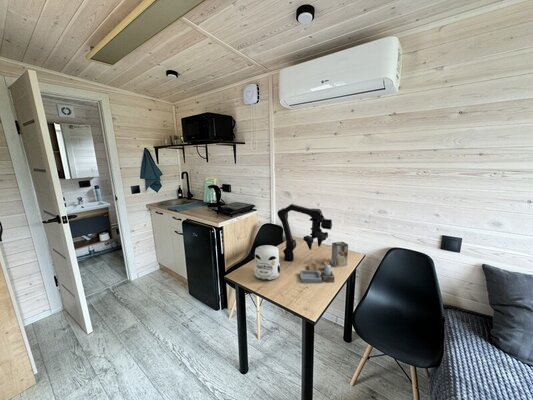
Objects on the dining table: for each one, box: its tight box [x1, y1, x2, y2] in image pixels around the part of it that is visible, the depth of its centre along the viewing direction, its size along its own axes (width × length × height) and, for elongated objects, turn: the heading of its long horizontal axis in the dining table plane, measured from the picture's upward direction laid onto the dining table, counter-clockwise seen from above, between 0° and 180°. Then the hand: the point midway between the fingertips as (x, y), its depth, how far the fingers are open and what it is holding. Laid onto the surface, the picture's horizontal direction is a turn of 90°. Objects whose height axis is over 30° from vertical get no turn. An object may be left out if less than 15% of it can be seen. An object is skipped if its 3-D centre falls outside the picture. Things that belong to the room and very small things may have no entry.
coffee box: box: [330, 241, 349, 268], centre depth 155 cm, size 9×6×16 cm
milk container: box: [253, 244, 281, 281], centre depth 141 cm, size 17×17×18 cm
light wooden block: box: [323, 261, 331, 271], centre depth 149 cm, size 3×4×5 cm
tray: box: [299, 269, 323, 284], centre depth 139 cm, size 12×10×2 cm
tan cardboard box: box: [307, 263, 320, 272], centre depth 149 cm, size 6×9×2 cm, turn 176°
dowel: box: [324, 264, 332, 276], centre depth 137 cm, size 4×4×9 cm
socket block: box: [320, 270, 335, 283], centre depth 138 cm, size 7×7×4 cm
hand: (314, 248), depth 153 cm, fingers open, 9 cm apart
